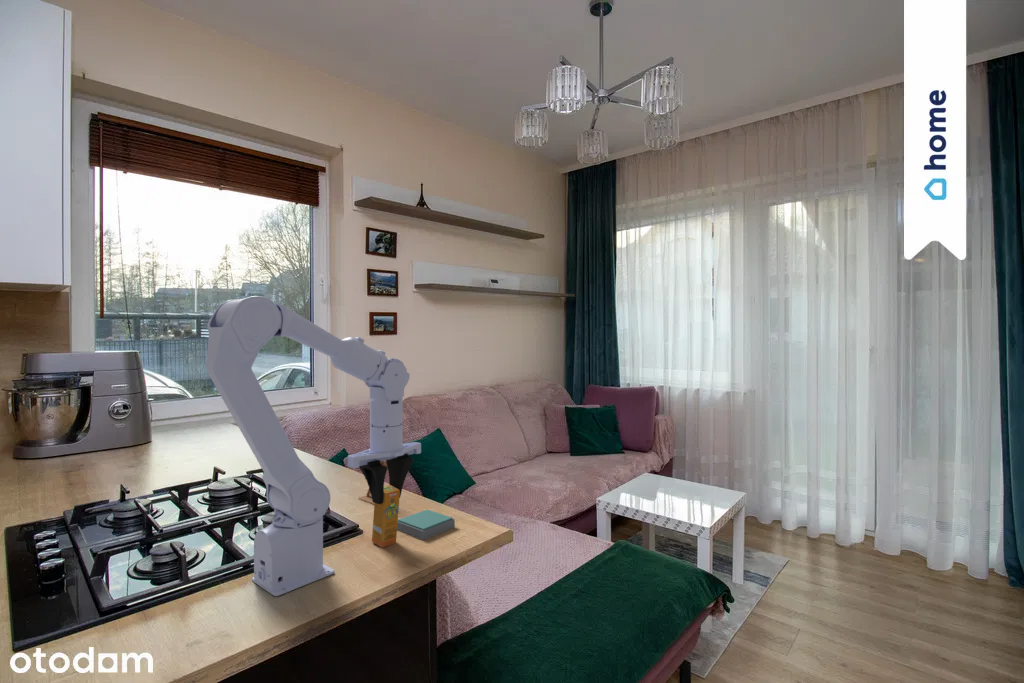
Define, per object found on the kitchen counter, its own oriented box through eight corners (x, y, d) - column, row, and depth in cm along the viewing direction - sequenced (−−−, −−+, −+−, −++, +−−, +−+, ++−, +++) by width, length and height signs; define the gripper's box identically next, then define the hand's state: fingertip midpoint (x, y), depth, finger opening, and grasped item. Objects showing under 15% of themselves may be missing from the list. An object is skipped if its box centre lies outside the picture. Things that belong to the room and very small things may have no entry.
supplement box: (382, 548, 88) (384, 493, 87) (371, 542, 90) (373, 487, 89) (398, 543, 90) (400, 488, 90) (386, 536, 92) (389, 483, 92)
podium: (423, 540, 91) (423, 529, 91) (395, 530, 96) (395, 519, 96) (454, 527, 97) (454, 517, 97) (427, 518, 102) (427, 508, 102)
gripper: (364, 433, 81) (364, 515, 82) (431, 421, 93) (432, 494, 93) (340, 428, 86) (340, 506, 86) (407, 417, 97) (407, 487, 97)
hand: (386, 500), depth 90 cm, fingers closed on supplement box, 3 cm apart
